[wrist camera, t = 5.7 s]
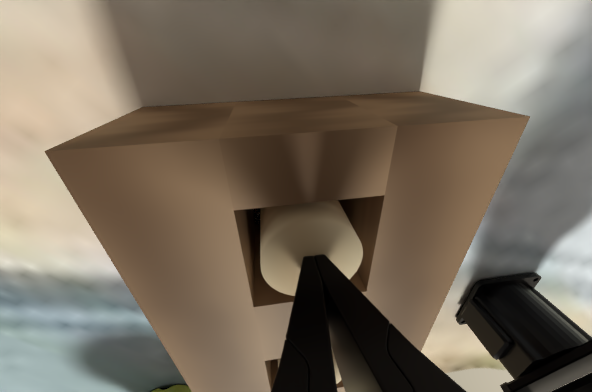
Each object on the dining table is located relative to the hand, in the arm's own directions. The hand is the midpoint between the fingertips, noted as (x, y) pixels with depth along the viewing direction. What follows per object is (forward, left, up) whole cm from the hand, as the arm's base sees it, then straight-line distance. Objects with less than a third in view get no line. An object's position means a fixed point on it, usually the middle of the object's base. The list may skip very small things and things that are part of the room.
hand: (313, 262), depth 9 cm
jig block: (0, +5, -6) cm, 8 cm away
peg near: (0, 0, -6) cm, 6 cm away
